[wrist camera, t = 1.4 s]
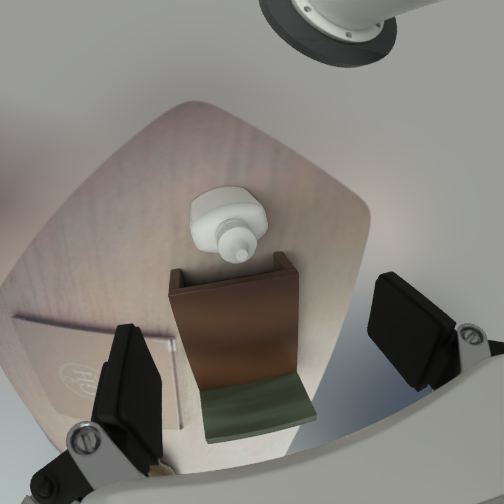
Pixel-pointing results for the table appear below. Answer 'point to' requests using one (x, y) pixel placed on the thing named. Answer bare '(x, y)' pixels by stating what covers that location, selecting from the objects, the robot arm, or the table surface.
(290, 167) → the table surface
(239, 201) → the eye dropper bottle
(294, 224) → the table surface
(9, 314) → the table surface
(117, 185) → the table surface
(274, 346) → the shelf
